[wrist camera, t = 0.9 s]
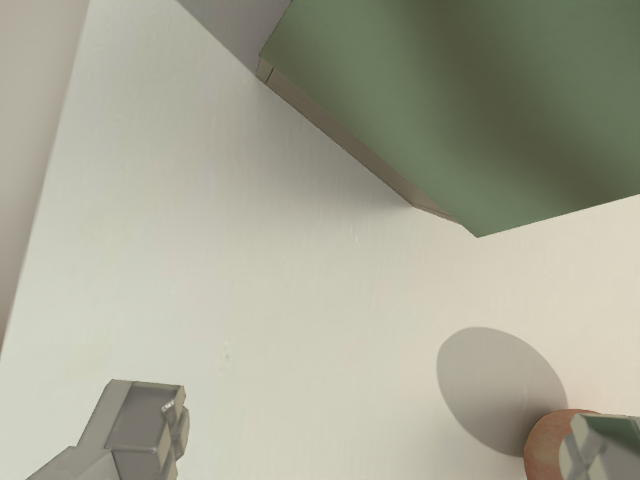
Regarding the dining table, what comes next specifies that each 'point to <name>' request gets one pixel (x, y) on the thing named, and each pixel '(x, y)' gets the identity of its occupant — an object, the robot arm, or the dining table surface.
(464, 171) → the lid
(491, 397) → the dining table surface
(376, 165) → the coldframe
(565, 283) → the dining table surface
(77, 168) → the dining table surface
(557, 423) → the apple
